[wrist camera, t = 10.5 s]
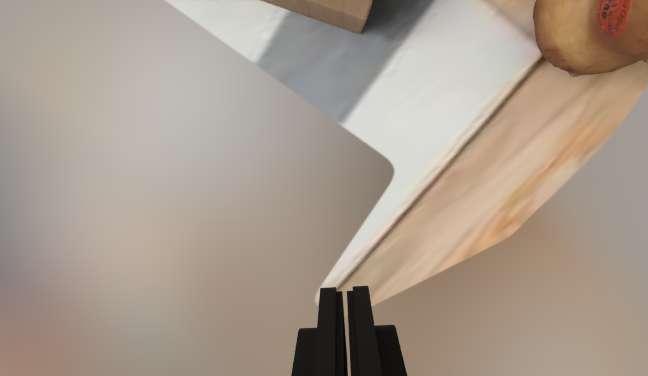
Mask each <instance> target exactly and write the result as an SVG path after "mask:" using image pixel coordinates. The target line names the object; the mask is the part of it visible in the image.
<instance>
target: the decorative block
mask: <svg viewBox="0 0 648 376" xmlns="http://www.w3.org/2000/svg"><path fill="white" fill-rule="evenodd" d="M261 1H264V2H267V3H270V4H273V5H276V6H279V7H282V8H285V9H288V10H290V11H293V12H296V13H299V14H302V15H305V16H308V17H311V18H314V19H317V20H320V21H322V22H325V23H328V24H331V25H334V26H337V27H340V28H343V29H346V30H349V31H352V32H354V33H357V34H361V32H362V30H363V28H364V25H365V23H366V21H367V18H368V15H369V12H370V9H371V6H372V3H373V0H261Z"/></svg>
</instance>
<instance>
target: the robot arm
mask: <svg viewBox="0 0 648 376" xmlns="http://www.w3.org/2000/svg"><path fill="white" fill-rule="evenodd" d="M347 302H348V322H349V343H350V362H351V376H407V374H406V369H405V365H404V361H403V356H402V352H401V349H400V344H399V340H398V336H397V332H396V328H395V326H394V325H381V326H374V320H373V314H372V309H371V301H370V295H369V288H368V286H355V287H353V291H347ZM291 376H348V371H347V350H346V337H345V324H344V310H343V296H342V291H339V292H336V287H333V288H321V289H320V300H319V312H318V326H317V328H301V329H299V332H298V337H297V344H296V350H295V357H294V362H293V369H292V375H291Z"/></svg>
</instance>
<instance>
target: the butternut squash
mask: <svg viewBox="0 0 648 376" xmlns="http://www.w3.org/2000/svg"><path fill="white" fill-rule="evenodd" d="M533 19H534V24H535V35H536V42H537V46H538V47H539V49H540V51H541V53H542V55H543V56H544V57H545V59H546V60H548V61H549V62H550V63H552V64H553V65H554V66H555V67H558V68H560V69H562V70H565V71H568V72H569V74H570V75H571V76H573V77H574V76H580V75H591V74H600V73H606V72H612V71H615V70H618V69H620V68H623V67H625V66H628V65H631V64H633V63H636V62H638V61H640V60H642V61H644V62H646V63H648V0H536V2H535V5H534V11H533Z"/></svg>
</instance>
